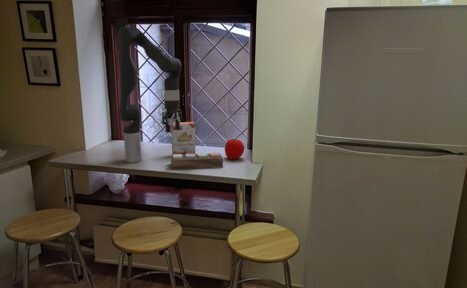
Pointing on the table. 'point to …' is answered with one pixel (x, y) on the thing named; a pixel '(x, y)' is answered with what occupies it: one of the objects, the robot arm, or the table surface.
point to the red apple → (234, 149)
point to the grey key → (190, 156)
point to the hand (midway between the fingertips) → (172, 130)
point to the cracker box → (183, 138)
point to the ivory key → (177, 156)
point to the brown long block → (196, 162)
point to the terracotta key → (214, 155)
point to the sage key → (202, 155)
